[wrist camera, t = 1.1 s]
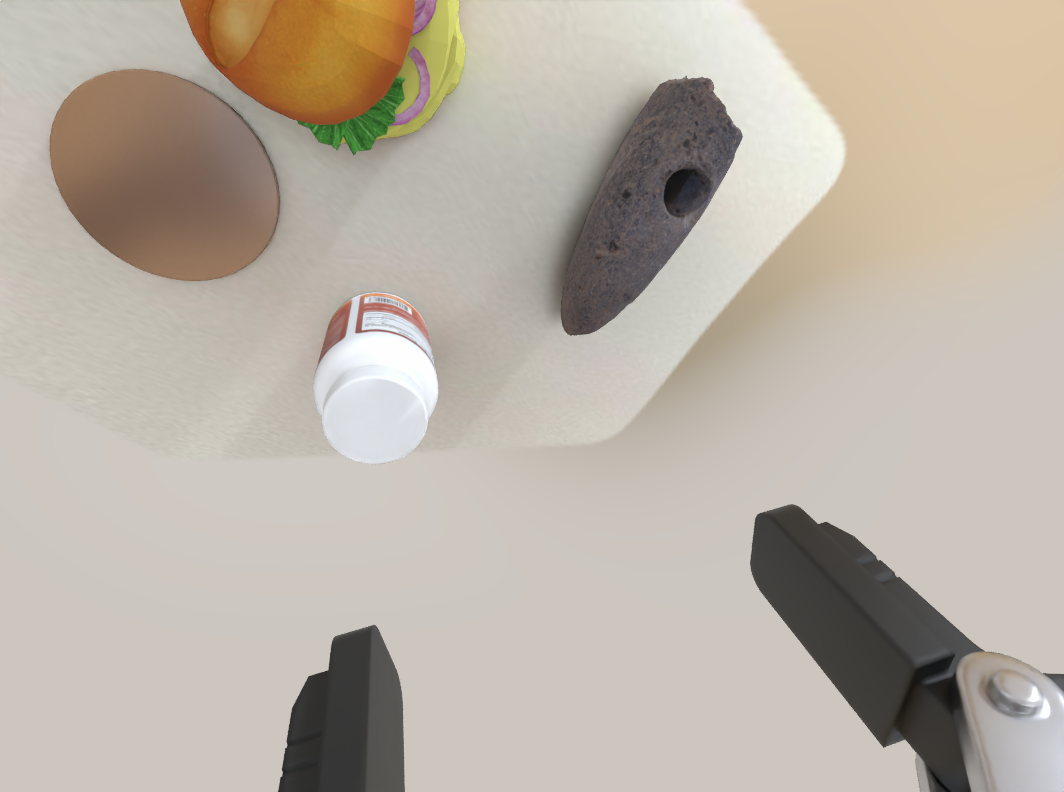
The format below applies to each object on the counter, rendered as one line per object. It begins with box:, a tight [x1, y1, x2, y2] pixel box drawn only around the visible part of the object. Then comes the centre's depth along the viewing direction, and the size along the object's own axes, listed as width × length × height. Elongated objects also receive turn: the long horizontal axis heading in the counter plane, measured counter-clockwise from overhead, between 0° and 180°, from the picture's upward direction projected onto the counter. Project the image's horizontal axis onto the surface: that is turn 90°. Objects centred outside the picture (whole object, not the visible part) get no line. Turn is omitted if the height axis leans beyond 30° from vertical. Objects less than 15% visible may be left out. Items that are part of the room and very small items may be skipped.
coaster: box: [50, 70, 279, 281], centre depth 26 cm, size 10×10×1 cm
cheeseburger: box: [180, 0, 465, 155], centre depth 22 cm, size 10×11×10 cm
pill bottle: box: [313, 292, 438, 464], centre depth 28 cm, size 6×6×11 cm
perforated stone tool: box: [561, 76, 743, 336], centre depth 30 cm, size 15×5×7 cm, turn 151°
